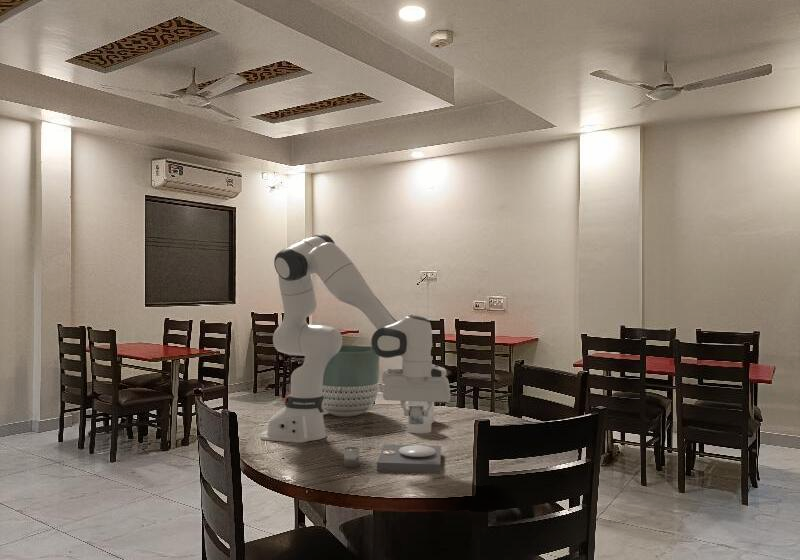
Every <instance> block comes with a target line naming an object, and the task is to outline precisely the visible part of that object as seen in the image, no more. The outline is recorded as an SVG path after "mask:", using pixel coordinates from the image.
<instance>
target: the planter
mask: <svg viewBox="0 0 800 560" xmlns="http://www.w3.org/2000/svg"><path fill="white" fill-rule="evenodd" d="M379 378H380V356H378V355H377V354H376V353H375V352H374V350H373V348H372V345H371V346H370V345H354V344H353V345H352V344H351V345H350V344H349V345H348V344H347V345H346V344H342V346H341V349H340V351H339V352H338V353H337V354H336V355H335V356H333V357H332V358H331V359H330V361H329V362H328V364H327V366H326V368H325V371H324V376H323V396H324V411H325V412H327V413H328V414H330V415H332V416H336V417H345V418H347V417H355V416H359V415H361V414H363V413H365V412H367V411H369V409H370V408H371V407H372V406H373V405H374V403H375V401H376V399H377V397H378V394H379V393H378V392H379V384H380V383H379V382H380V381H379Z"/></svg>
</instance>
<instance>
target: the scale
mask: <svg viewBox="0 0 800 560" xmlns="http://www.w3.org/2000/svg"><path fill="white" fill-rule="evenodd" d="M441 454H442V446H439V445H417V444H416V445H412V444H409V445H408V444H385V443H384V444H383V446H382V449H381V452H380V454H379V457H378V459H377V462H376V471H377V472H391V473H414V474H417V473H419V474H441V461H442V460H441V458H442V457H441V456H442V455H441Z"/></svg>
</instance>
